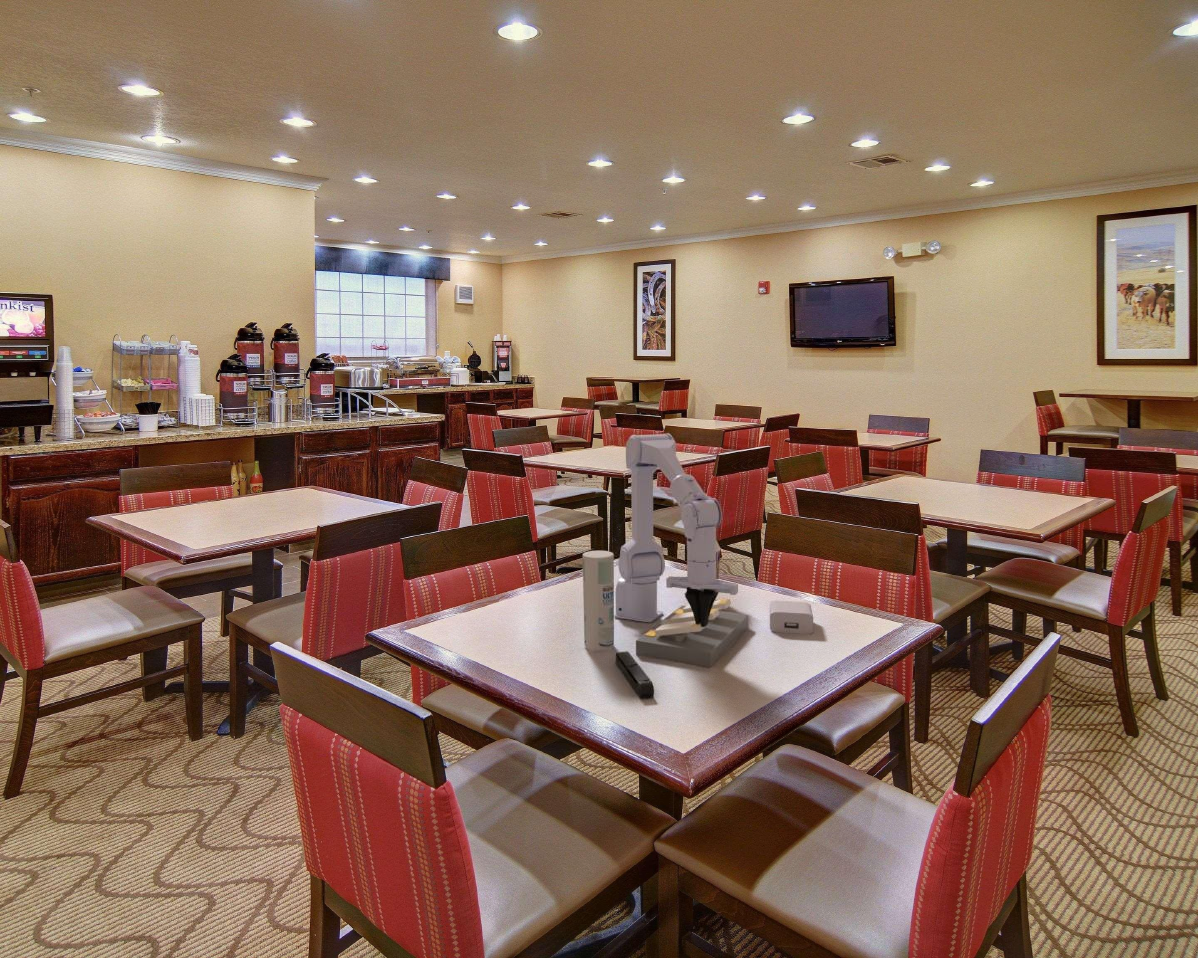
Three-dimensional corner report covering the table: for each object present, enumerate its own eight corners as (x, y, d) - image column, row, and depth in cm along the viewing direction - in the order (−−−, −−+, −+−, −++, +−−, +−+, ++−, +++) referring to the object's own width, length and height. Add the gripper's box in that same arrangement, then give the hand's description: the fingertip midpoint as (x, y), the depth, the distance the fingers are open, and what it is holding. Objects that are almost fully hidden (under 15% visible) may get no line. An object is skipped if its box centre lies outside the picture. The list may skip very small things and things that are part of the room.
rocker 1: (655, 636, 156) (654, 630, 156) (663, 630, 159) (661, 624, 159) (700, 631, 151) (698, 624, 151) (707, 625, 154) (705, 619, 154)
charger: (808, 613, 181) (812, 634, 166) (769, 611, 183) (769, 632, 168) (809, 594, 180) (813, 614, 165) (769, 592, 182) (770, 611, 167)
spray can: (604, 653, 156) (603, 559, 153) (577, 648, 159) (576, 555, 156) (620, 644, 161) (619, 552, 158) (594, 638, 164) (593, 549, 162)
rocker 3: (683, 614, 170) (682, 608, 170) (690, 609, 173) (688, 603, 173) (725, 608, 165) (723, 602, 165) (731, 603, 169) (729, 598, 169)
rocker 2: (670, 624, 163) (668, 618, 163) (677, 619, 166) (675, 613, 166) (713, 619, 158) (711, 613, 158) (719, 613, 162) (718, 608, 162)
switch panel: (635, 654, 155) (635, 634, 154) (681, 617, 178) (682, 600, 177) (710, 667, 148) (710, 646, 147) (748, 627, 171) (748, 609, 170)
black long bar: (654, 700, 134) (654, 683, 134) (640, 701, 133) (640, 685, 133) (627, 663, 151) (626, 648, 151) (614, 664, 151) (614, 650, 150)
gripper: (660, 560, 151) (660, 626, 153) (730, 567, 144) (730, 635, 146) (673, 553, 157) (673, 616, 159) (741, 559, 150) (741, 625, 152)
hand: (701, 625), depth 153 cm, fingers closed, pressing on rocker 1
